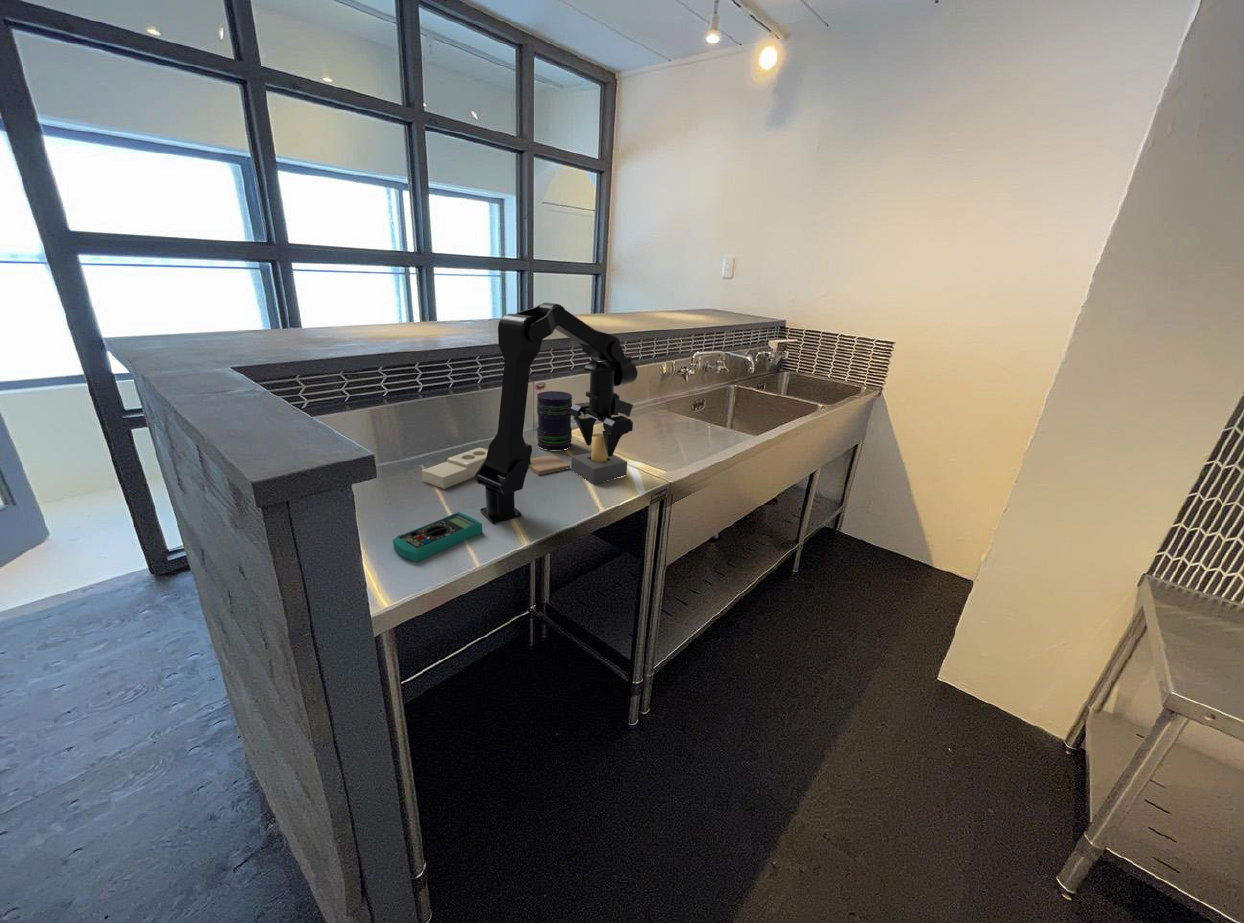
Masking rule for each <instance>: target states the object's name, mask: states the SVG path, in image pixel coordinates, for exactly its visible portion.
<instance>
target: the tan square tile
mask: <svg viewBox="0 0 1244 923" xmlns="http://www.w3.org/2000/svg"><path fill="white" fill-rule="evenodd" d="M566 468H570V469H571V465H570V464H569V463H568V462H566V461H563V460H562V459H561V458H559V457H557V456H556V455H554V454H549V455H542V456H537V457H533V458H531V465H529V467H528V470H530V469H531V470H530V471H532V473H534V472H535V474H536V475H537V474H538V476H542V474H543V475H548V474H551V472H553V473H556V472H555V471H557V472H560V471H559V470H562V471H564V470H563V469H566ZM547 473H548V474H547Z"/></svg>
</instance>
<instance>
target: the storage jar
mask: <svg viewBox="0 0 1244 923" xmlns="http://www.w3.org/2000/svg"><path fill="white" fill-rule="evenodd" d="M536 397H537V401H536V409H537V410H536V413H537V417H538V418H537V423H538V426H537V429H536V430H537V434H536V438H537V446H538V445H539V447H541V448H543V449H547V450H564V449H567V448H569V447H570V446H571V447H572V438H573V436H572V435H573V434H572V431H573V430H572V426H571V425H572V423H571V422H572V415H571V407H572V406H573V400H572V399H573V394H571V393H569V392H565V391H556V390H555V391H554V390H552V391H551V390H549V391H542V392H539V393H537V395H536Z"/></svg>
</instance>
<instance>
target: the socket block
mask: <svg viewBox="0 0 1244 923" xmlns="http://www.w3.org/2000/svg"><path fill="white" fill-rule="evenodd" d="M570 469H571V470H572V471H574V472H575V473H577V474H578V475H577V474H576V475H577V476H579V475H580V476H582V477H583V478H584V480H585V479H586V480H585V481H587V482H588V481H589V482H588V483H590V484H592V485H593V484H594V485H597V484H598V485H599V484H601V483H600V482H602V483H604V482H603V481H606V482H608V481H607V480H610V481H612V480H611V479H614V478H617V477H621V476H624V475H627V471H628V461H627V460H625V459H623V458H621V457H620V456H617V455H615V454H613V456H611V457H609V456H608V455H607V461H606V462H602V463H595V462H593V461H591V452H586V453H581V454H576V455H572V456H571V465H570ZM572 471H571V472H572ZM574 472H573V473H574ZM575 473H574V474H575ZM580 476H579V477H580ZM582 477H581V478H582ZM583 478H582V479H583Z"/></svg>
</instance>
